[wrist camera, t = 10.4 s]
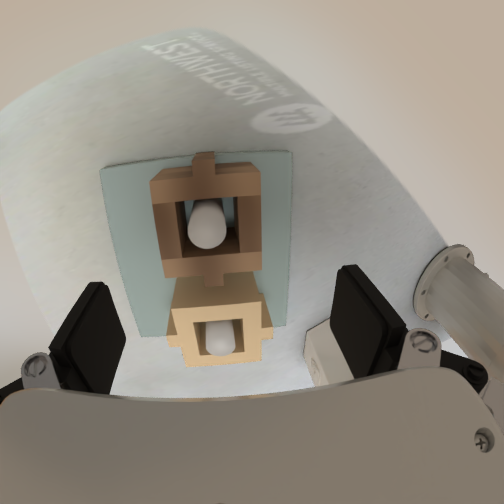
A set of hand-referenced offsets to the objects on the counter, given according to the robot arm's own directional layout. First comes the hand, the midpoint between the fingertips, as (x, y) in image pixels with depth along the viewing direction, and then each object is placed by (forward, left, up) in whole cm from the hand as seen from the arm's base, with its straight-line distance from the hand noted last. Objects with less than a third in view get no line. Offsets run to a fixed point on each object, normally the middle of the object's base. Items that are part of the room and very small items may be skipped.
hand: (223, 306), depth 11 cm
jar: (-13, +19, -15) cm, 27 cm away
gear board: (+2, +5, -15) cm, 16 cm away
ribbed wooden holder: (+1, 0, -13) cm, 13 cm away
